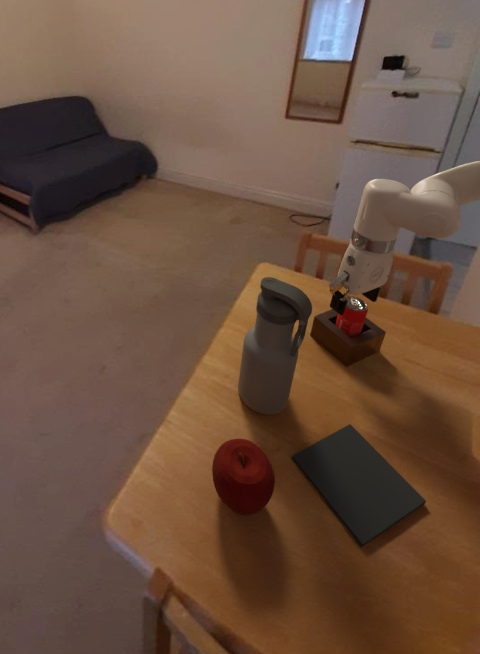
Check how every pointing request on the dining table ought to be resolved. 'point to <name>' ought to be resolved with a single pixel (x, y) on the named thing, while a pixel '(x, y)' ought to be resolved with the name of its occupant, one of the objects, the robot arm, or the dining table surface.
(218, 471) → the apple
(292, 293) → the water bottle
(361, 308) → the beverage can
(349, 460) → the mat
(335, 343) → the holder
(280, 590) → the dining table surface
